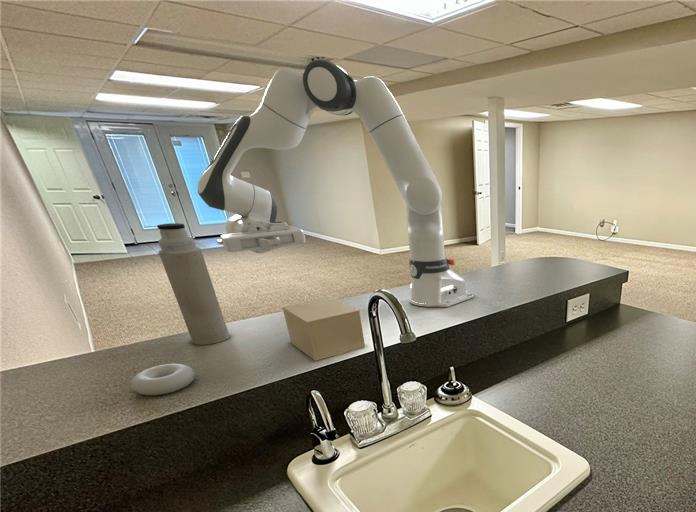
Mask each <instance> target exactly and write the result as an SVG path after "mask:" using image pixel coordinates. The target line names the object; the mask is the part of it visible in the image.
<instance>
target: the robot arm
mask: <svg viewBox="0 0 696 512" xmlns="http://www.w3.org/2000/svg"><path fill="white" fill-rule="evenodd" d="M318 110H323V111H325V112H327V113H329V114H331V115H336V116H349V115H351V114H352V113H354V114H355V115H357V117H358V118H359V119H360V120H361V123H362V124H363V125H364V127H365V129H366V131H367V133H368V134H369V136H370V138H371V140H372V142H373V143H374V146H375V147H376V149H377V151H378V152H379V154H380V156H381V158H382V160H383V161H384V163H385V164H386V167H387V169H388V172H389V173H390V175H391V177H392V179H393V181H394V183H395V185H396V187H397V188H398V191H399V192H400V194H401V196H402V198H403V200H404V202H405V210H406V224H407V237H408V246H409V248H408V249H409V257H410V258H409V259H408V260H409V261H408V262H409V263H408V264H409V272H410V277H411V283H410V297H409V301H408V302H409V303H410V304H412V305H414V306H418V307H426V308H427V307H439V308H448V307H451V306H454V305H457V304H459V303H462V302H465V301H467V300H470V299H473V298H474V294H473V295H472V296H469V297H466V298H464V299H461V300H460V298H458V297H460V296H462V295H465V294H467V291H468V290H467V289H468V288H467V284H466V280H465V279H464V278H463V277H462V276H460V275H459V274H458V273H456V272H455V271H454V270H452V269H451V267H450V266H455V264H456V260H455V259H454V258H446V257H445V255H446V254H445V240H444V239H445V238H444V237H445V236H444V226H443V213H442V200H443V190H442V188H441V185H440V183H439V182H438V179H437V177H436V175H435V174H434V172H433V170H432V168H431V166H430V164H429V162H428V160H427V158H426V156H425V154H424V152H423V151H422V150H423V149H422V148H421V146H420V144H419V143H418V141H417V138H416V137H415V134H414V133H413V131H412V129H411V127H410V125H409V122H408V121H407V119H406V117H405V115H404V113H403V111H402V109H401V107H400V106H399V104H398V102H397V100H396V99H395V97H394V95H393V94H392V92H391V91H390V90H389V89H388V87H387V86H386V84H385V83H384V81H383V80H382V79H381V78H379V77H377V76H373V75H372V76H371V75H370V76H365V77H362V78H360V79H359V80H355V79H354V78H353V77H352V76H351V75H350V74H348V73H347V72H346V71H345V69H343V68H342V67H341V66H340V65H337V64H336V63H334V62H331V61H330V60H327V59H320V58H319V59H314V60H312V61H310V62H309V63H308V64H307V65H306V66H305V67H304V70H303V73H301V72H300V71H298V70H296V69H295V68H291V67H288V66H287V67H286V66H282V67H279V68H278V69H277V70H276V71H275V72H274V74H273V75H272V78H271V79H270V81H269V83H268V85H267V86H266V89H265V92H264V94H263V96H262V99H261V102H260V105H258V108H257V109H256V110H255V111H254V112H253V113H252V114H250V115H241V116H240V117H238V119H237V120H236V121H235V123H234V124H233V125H232V127H231V128H230V130H229V131H228V133H227V135H226V136H225V138H224V140H223V141H222V143H221V145H220V147H219V148H218V150H217V151H216V153H215V155H214V157H213V159H212V161H210V163H209V165H208V166H207V167H206V169H205V170H204V171H203V173H202V174H201V176H200V177H199V180H198V182H197V193H198V195H199V197H200V199H201V200H202V201H203V202H204V203H205V204H206V205H207V206H208V207H209V208H212V209H216V210H220V211H225V212H228V213H230V214H233V216H230V217H229V218H228V219H227V220H226V222H225V226H224V227H225V232H226V233H225V234H224V233H223V234H221V235H220V238H219V239H216V244H218V245H222V246H223V249H224V250H225V251H226V252H228V253H237V252H247V251H251V252H253V253H256V254H265V253H266V254H267V253H268V252H271V251H274V250H276V249H279V248H283V247H288V246H294V245H295V246H296V245H304V244H306V242H307V241H306V235H305V232H304V230H303V229H302V228H299V227H297V226H295V225H289V224H288V223H287V222H285V221H277V220H276V219H277V215H278V205H277V202H276V199H275V197H274V195H273V194H272V193H271V191H269V190H267V189H265V188H263V187H260V186H258V185H257V184H256V185H255V184H253V183H250V182H248V181H245V180H243V179H241V178H240V179H239V178H237V177H235V176H233V175H231V174H232V173H233V171H234V169H235V168H236V166H237V165H238V162H239V161H240V159H241V158H242V156H243V154H244V153H245V152H246V151H249V150H251V149H266V150H267V149H268V150H275V151H287V150H293V149H294V148H297V147H298V146H299V145H300V144H301V142H302V140H303V138H304V136H305V133H306V130H307V128H308V125H309V122H310V120H311V117H312V116H313V114H314V113H315V111H318ZM468 294H470V293H468ZM410 298H411V300H413V301H415V302H418V303H415V302H412V301H411V300H410ZM419 303H424V304H419ZM425 303H426V304H425Z"/></svg>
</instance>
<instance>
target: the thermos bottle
mask: <svg viewBox="0 0 696 512" xmlns="http://www.w3.org/2000/svg"><path fill="white" fill-rule="evenodd" d="M156 226H157V229H158V230H159V234H160V237H161V238H159V239H158V241H157V242H158V244H159V245H158V246H159V247H160V249H159V250H158V255H159V258H160V260H161V263H162V266H163V268H164V271H165V273H166V276H167V278H168V282H169V284H170V286H171V289H172V292H173V294H174V297H175V299H176V302H177V305H178V307H179V310H180V313H181V315H182V317H183V320H184V323H185V326H186V328H187V331H188V333H189V336H190V339H191V341H192V343H193V344H195V345H201V346H202V345H203V346H204V345H213V344H217V343H221V342H223V341H226V340H227V339H229V338H230V333H229V330H228V326H227V324H226V320H225V318H224V314H223V312H222V308H221V306H220V303H219V301H218V297H217V293H216V291H215V288H214V285H213V284H214V283H213V281H212V278H211V275H210V272H209V269H208V267H207V263H206V261H205V258H204V254H203V252H202V248H201V247H198V246H197V244H196V241H195V238H193V237H191V236H189V234H188V232H187V230H186V229H185V227H186V226H185V224H184V223H177V222H176V223H172V222H171V223H170V222H169V223H162V224H161V223H160V224H157V225H156Z"/></svg>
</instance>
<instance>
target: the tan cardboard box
mask: <svg viewBox="0 0 696 512" xmlns="http://www.w3.org/2000/svg"><path fill="white" fill-rule="evenodd" d="M282 312H283V315H284V319H285V323H286V328H287V331H288V334H289V340H290V343H291V345H293V346H294V347H296V348H298V349H299V350H300V351H301V352H302V353H304V354H305V355H306V356H308V357H310V358H311V359H312V360H314V361H315V362H317V361H320V360H323V359H327V358H331V357H334V356H337V355H340V354H345V353H348V352H351V351H355V350H357V349H361V348H365V347H366V343H365V338H364V332H363V331H364V330H363V325H362V320H361V313H360V310H359V309H357V308H355V307H353V306H351V305H349V304H347V303H344V302H342V301H341V300H339V299H337V298H334V297H328V298H322V299H317V300H313V301H306V302H302V303H297V304H291V305H287V306H282Z"/></svg>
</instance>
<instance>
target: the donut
mask: <svg viewBox="0 0 696 512" xmlns="http://www.w3.org/2000/svg"><path fill="white" fill-rule="evenodd" d="M194 379H195V372H194V369H192V368H191V367H190V366H188V365H186V364H183V363H166V364H165V363H164V364H160V365H155V366H152V367H149V368H146V369H144V370H142V371H140V372H138V373H137V374H135V375H134V376H133V378H132V379H131V382H130V383H131V388H132V390H133V391H134V392H136V393H138V394H140V395H144V396H159V395H161V396H162V395H166V394H171V393H175V392H177V391H180V390H182V389H184V388H186V387H187V386H189V385H190V384H191V383H192V382H193V381H194Z"/></svg>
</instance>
